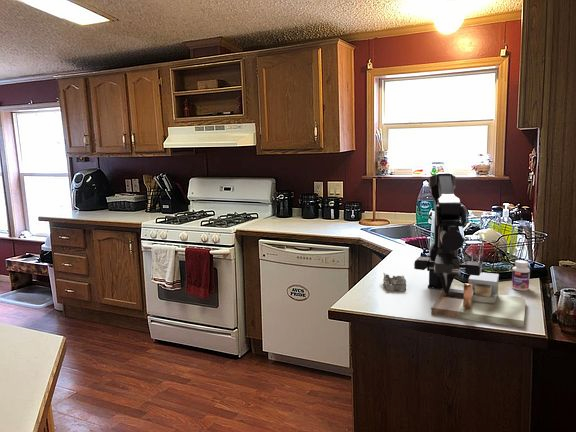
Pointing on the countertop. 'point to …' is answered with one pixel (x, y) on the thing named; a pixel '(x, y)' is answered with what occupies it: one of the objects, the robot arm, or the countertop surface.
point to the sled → (475, 296)
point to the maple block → (483, 290)
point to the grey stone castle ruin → (394, 282)
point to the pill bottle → (520, 275)
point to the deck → (482, 308)
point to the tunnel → (485, 280)
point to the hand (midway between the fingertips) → (446, 293)
